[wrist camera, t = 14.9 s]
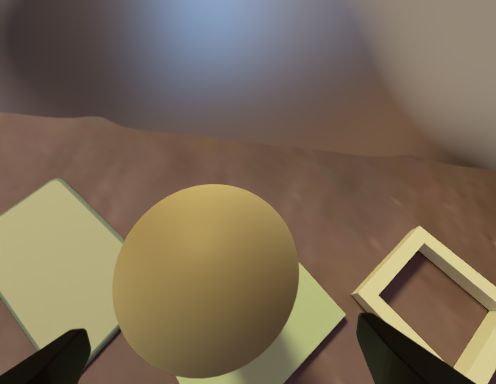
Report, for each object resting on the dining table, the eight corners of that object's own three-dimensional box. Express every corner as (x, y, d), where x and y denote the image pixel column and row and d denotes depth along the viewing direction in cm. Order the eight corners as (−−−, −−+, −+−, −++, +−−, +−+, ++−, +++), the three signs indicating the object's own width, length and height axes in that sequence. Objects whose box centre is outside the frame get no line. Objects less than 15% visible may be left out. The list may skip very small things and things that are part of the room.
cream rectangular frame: (455, 405, 14) (471, 412, 13) (351, 294, 17) (357, 292, 16) (509, 313, 17) (527, 312, 15) (410, 230, 20) (419, 225, 19)
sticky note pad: (61, 390, 14) (-41, 241, 18) (71, 386, 15) (-29, 245, 19) (164, 278, 17) (57, 174, 22) (168, 280, 18) (64, 179, 22)
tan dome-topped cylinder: (253, 344, 15) (268, 420, 4) (198, 322, 16) (69, 327, 4) (270, 283, 17) (315, 210, 6) (220, 265, 18) (170, 167, 6)
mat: (217, 452, 13) (216, 456, 13) (133, 289, 17) (130, 288, 17) (343, 314, 16) (345, 314, 16) (247, 207, 21) (247, 204, 20)
